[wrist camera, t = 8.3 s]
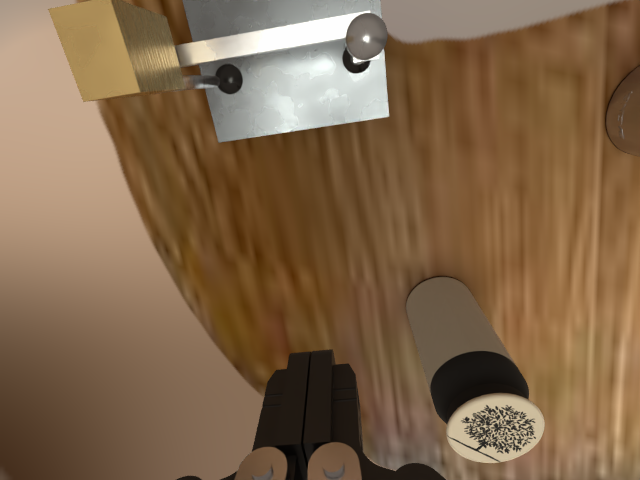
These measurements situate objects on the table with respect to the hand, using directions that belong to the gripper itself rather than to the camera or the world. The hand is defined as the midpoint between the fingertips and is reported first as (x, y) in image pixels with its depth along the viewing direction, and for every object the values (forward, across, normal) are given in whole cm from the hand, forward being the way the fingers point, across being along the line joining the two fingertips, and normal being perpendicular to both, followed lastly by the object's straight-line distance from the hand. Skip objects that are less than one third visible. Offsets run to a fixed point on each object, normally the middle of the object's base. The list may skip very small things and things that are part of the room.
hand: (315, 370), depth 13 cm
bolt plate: (+29, +2, -12) cm, 31 cm away
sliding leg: (+27, +9, -12) cm, 31 cm away
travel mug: (+29, -11, +18) cm, 36 cm away
